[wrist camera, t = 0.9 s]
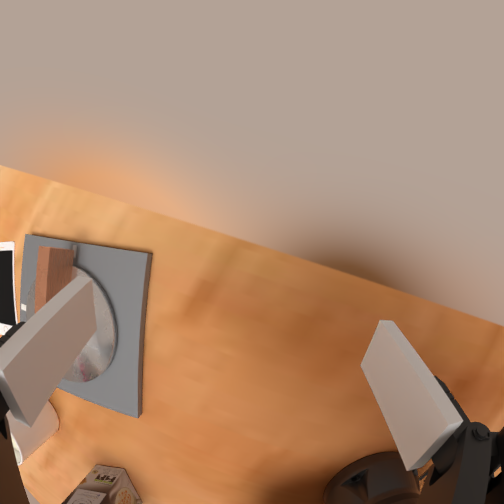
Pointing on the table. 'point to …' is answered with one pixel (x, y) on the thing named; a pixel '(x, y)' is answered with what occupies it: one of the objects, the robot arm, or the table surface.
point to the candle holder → (32, 432)
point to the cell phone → (7, 287)
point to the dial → (105, 338)
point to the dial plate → (125, 310)
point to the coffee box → (104, 488)
